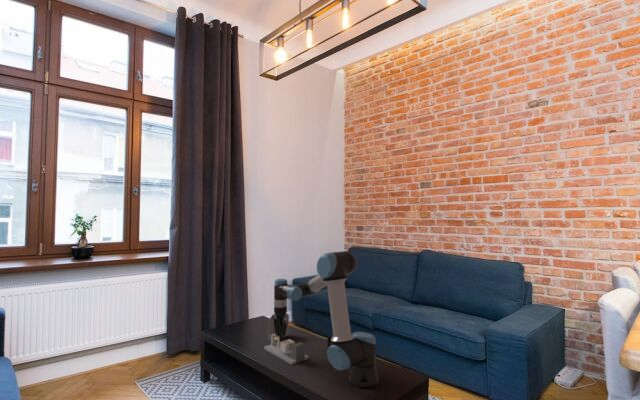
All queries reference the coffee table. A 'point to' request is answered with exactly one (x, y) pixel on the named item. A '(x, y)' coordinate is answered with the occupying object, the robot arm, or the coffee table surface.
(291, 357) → the light grey blocky piece
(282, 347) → the sleeve
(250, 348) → the coffee table surface
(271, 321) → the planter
